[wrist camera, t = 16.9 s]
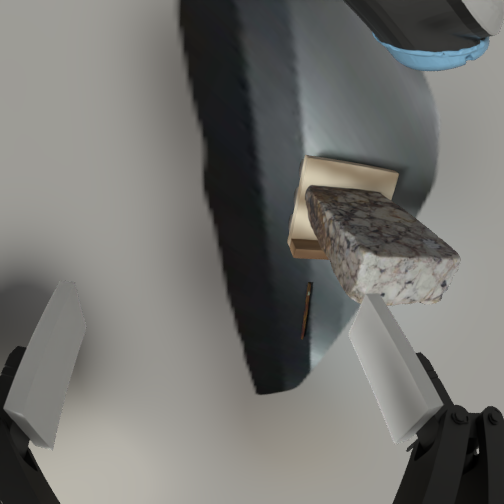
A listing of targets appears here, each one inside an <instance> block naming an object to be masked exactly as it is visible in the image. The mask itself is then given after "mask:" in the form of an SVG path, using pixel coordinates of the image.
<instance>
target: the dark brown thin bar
mask: <svg viewBox="0 0 504 504" xmlns="http://www.w3.org/2000/svg"><path fill="white" fill-rule="evenodd" d="M310 289H311V283H310V282H308V287H307V295H306V303H305V311H304V318H303V325H302V332H301V339H303V338H304V332H305V325H306V318H307V312H308V303H309V296H310Z"/></svg>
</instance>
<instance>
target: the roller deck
mask: <svg viewBox="0 0 504 504" xmlns="http://www.w3.org/2000/svg"><path fill="white" fill-rule="evenodd" d="M299 176H300V183H299V187H297V188H296V190H295V193H294V205H295V208H294V213H293V214H291V216H290V218H289V237H288V242H287V243H288V245H289V247H290V250H291V252H292V255H293V257H294V258H306V259H327V260H329V259H328V258H327V256H326V254H325V252H324V251H323V250H322V249H321V247H320V245H319V242H318V239H317V237H316V236H315V234H314V232H313V229H312V228H311V226H310V222H309V219H308V210H307V206H306V200H305V193H306V190H307V188H308V187H309V186H310V185H315V186H327V187H338V188H353V189H362V190H368V191H376V192H381V194H382V195H384V196H385V197H387V198H388V199H390V200H392V196H393V193H394V190H395V186H396V183H397V179H398V176H399V173H397V172H396V171H394V170H389V169H384V168H379V167H374V166H369V165H364V164H358V163H353V162H347V161H341V160H335V159H329V158H322V157H316V156H309V155H305V158H304V159H302V161H301V163H300V168H299Z"/></svg>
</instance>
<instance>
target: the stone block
mask: <svg viewBox="0 0 504 504" xmlns="http://www.w3.org/2000/svg"><path fill="white" fill-rule="evenodd" d="M305 200H306V206H307V210H308V219H309V222H310V226H311V228H312V229H313V232H314V234H315V236H316V237H317V239H318V242H319V245H320V247H321V249H322V250H323V251H324V252H325V254H326V256H327V258H328V259H329V260H330V262H331V265H332V269H333V272H334V273H335V275H336V277H337V278H338V280H339V282H340V284H341V286H342V288H343V289H344V291H345V292H346V294H347V295H348V296H349V297H350V298H351V299H353V300H355V301H356V302H358V303H360V304H362V301H363V299H364V296H365V294H366V293H379V294H380V296H381V297H382V299H383V300H384V302H385V304H386V305H387V306H389V305H397V304H410V303H416V302H420V303H422V304H434V303H437V302H439V301H440V300H441V299H442V295H443V293H444V292H445V291H447V289H448V287H449V285H450V284H451V281H452V279H453V276H454V274H455V273H456V272H457V271H458V266H459V263H460V260H461V259H460V256H459V255H458V253H457V252H456V251H455V250H453V249H452V248H451V247H450V246H449V245H448V244H447V243H445V242H444V241H443V240H442V239H440V238H438V236H437V235H436V234H435V233H433V232H432V231H431V230H430V229H429V228H427V227H426V226H425V225H423V224H422V223H421V222H419V221H418V220H417V219H416V218H414V217H413V216H412V215H411V214H409V213H408V212H407V211H405V210H404V209H403V208H401V207H400V206H398V205H397V204H395V203H394V202H392V201H391V200H390V199H388V198H387V197H385V196H384V195H382V194H381V192H376V191H368V190H362V189H353V188H338V187H327V186H315V185H310V186H309V187H308V188H307V190H306V193H305Z"/></svg>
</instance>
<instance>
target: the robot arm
mask: <svg viewBox="0 0 504 504" xmlns="http://www.w3.org/2000/svg"><path fill="white" fill-rule="evenodd" d="M343 1H344V2H345V3H346V4H347V5H348V6H349V7H350V8H351V9H352V10H353V11H354V12H355V13H356V14H357V15H358V16H359V17H360V18H361V20H362V21H363V22H364V23H365V24H366V25H367V26H368V27H369V28H370V30H371V31H372V34H373V36H374V37H375V39H376V40H377V41H378V42H380V43H381V44H382V45H383V46H385V47H386V48H387V50H388V51H389V52H390V53H391V54H392V55H393V57H394V58H395V59H396V60H397V61H399V62H400V63H401V64H403V65H405V66H406V67H409V68H412V69H415V70H421V71H441V70H447V69H452V68H456V67H459V66H462V65H465V64H466V61H467V60H476V59H477V58H479V57H480V56H481V55H482V54H484V52H485V51H486V50H487V48H488V46H489V36H495V35H497V34H499V32H500V29H501V26H502V23H503V20H504V0H343ZM86 328H87V327H86V323H85V320H84V316H83V313H82V309H81V305H80V301H79V296H78V292H77V288H76V284H75V282H69V281H60V282H59V284H58V286H57V287H56V289H55V291H54V293H53V295H52V297H51V299H50V301H49V303H48V305H47V307H46V309H45V311H44V313H43V315H42V317H41V319H40V321H39V323H38V325H37V327H36V329H35V331H34V334H33V335H32V338H31V340H30V342H29V344H28V347H27V348H26V347H20V346H17V347H16V348H15V349H14V350H13V351H12V353H10V354H9V357H8V359H7V361H6V363H5V367H4V368H3V370H2V372H1V376H0V504H60V502H59V501H58V499H57V497H56V496H55V494H54V493H53V491H52V489H51V487H50V486H49V484H48V482H47V480H46V479H45V477H44V475H43V473H42V472H41V470H40V468H39V466H38V464H37V462H36V460H35V458H34V456H33V454H32V452H31V450H30V449H29V447H28V444H29V440H31V441H32V442H33V444H34V445H35V446H38V447H42V448H45V449H49V450H53V447H54V442H55V437H56V433H57V428H58V424H59V420H60V415H61V411H62V407H63V404H64V400H65V396H66V392H67V389H68V385H69V382H70V378H71V374H72V371H73V368H74V364H75V361H76V358H77V355H78V352H79V349H80V346H81V343H82V339H83V337H84V334H85V331H86ZM348 336H349V338H350V340H351V342H352V344H353V347H354V349H355V351H356V353H357V356H358V358H359V360H360V363H361V365H362V367H363V369H364V372H365V374H366V376H367V379H368V381H369V383H370V386H371V388H372V391H373V393H374V395H375V398H376V400H377V402H378V405H379V407H380V410H381V412H382V414H383V417H384V419H385V422H386V424H387V427H388V429H389V432H390V434H391V437H392V439H393V442H394V444H397V443H401V442H404V441H408V440H409V439H410V438H411V437H412V436H414V434H417V436H418V439H417V440H416V441H415V442H414V443H413V444H411V445H410V446H409V447H408V448H407V450H406V451H407V452H408V451H410V450H411V449H412V448H413V450H412V452H411V456H410V459H409V462H408V465H407V468H406V471H405V474H404V476H403V479H402V481H401V484H400V487H399V489H398V492H397V494H396V496H395V499H394V501H393V504H504V419H503V416H502V414H501V412H500V411H499V410H498V409H497V408H495V407H493V406H488V407H487V408H485V409H484V410H483V411H482V412H481V413H468V412H467V411H466V409H465V408H463V407H462V406H459V405H454V404H453V402H452V401H451V399H450V397H449V395H448V393H447V392H446V390H445V388H444V386H443V384H442V382H441V381H440V379H439V378H438V375H437V374H436V372H435V371H434V369H433V367H432V365H431V363H430V361H429V360H428V359H427V358H426V357H425V356H424V355H423V354H422V353H421V352H420V353H415V352H414V350H413V348H412V347H411V345H410V343H409V341H408V340H407V338H406V336H405V335H404V333H403V331H402V330H401V328H400V326H399V325H398V323H397V322H396V320H395V319H394V317H393V315H392V313H391V312H390V310H389V309H388V307H387V305H386V304H385V302H384V300H383V299H382V297H381V296H380V294H379V293H366V294H365V296H364V299H363V301H362V304H361V306H360V308H359V311H358V313H357V315H356V318H355V320H354V322H353V324H352V327H351V329H350V331H349V333H348ZM478 448H479V454H477V452H476V449H478ZM1 501H2V503H1Z"/></svg>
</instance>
